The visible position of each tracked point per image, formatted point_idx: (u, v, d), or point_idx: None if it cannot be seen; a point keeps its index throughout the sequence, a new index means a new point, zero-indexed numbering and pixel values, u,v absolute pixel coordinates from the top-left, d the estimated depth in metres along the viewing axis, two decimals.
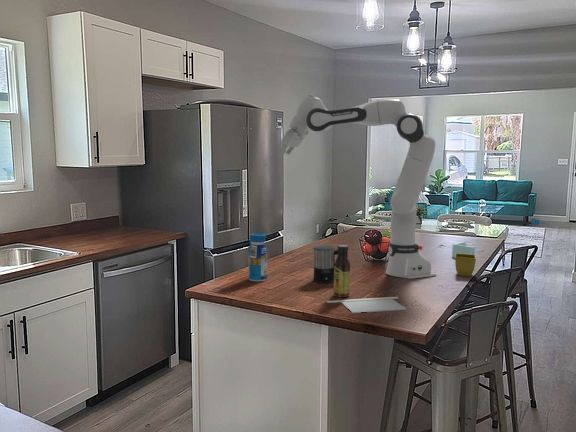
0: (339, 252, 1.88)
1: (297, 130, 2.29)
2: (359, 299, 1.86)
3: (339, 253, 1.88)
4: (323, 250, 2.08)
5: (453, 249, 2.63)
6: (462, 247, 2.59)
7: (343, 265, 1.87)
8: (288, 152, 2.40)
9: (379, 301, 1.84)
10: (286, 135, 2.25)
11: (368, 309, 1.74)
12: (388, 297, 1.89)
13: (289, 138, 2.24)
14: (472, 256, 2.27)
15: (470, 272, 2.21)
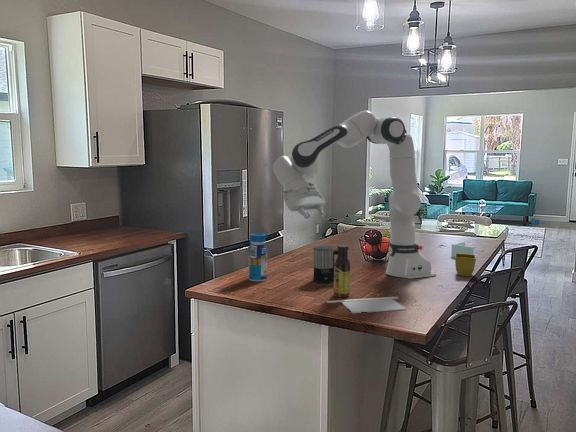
0: (339, 252, 1.88)
1: (293, 190, 1.98)
2: (359, 299, 1.86)
3: (339, 253, 1.88)
4: (323, 250, 2.09)
5: (452, 249, 2.64)
6: (461, 247, 2.60)
7: (343, 265, 1.87)
8: (320, 213, 2.00)
9: (379, 301, 1.84)
10: (286, 201, 1.94)
11: (368, 309, 1.74)
12: (388, 297, 1.89)
13: (289, 199, 1.93)
14: (472, 256, 2.27)
15: (470, 272, 2.21)
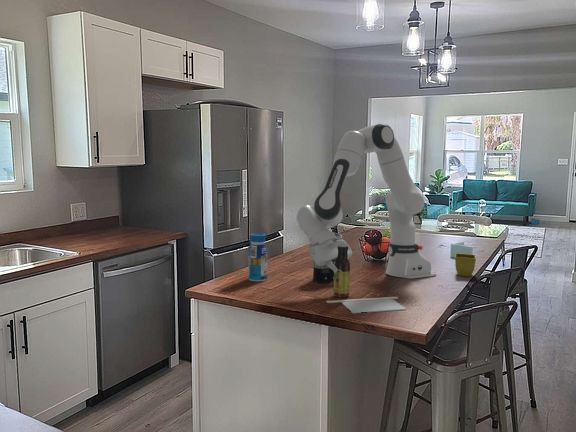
0: (339, 252, 1.88)
1: (320, 242, 1.91)
2: (359, 299, 1.86)
3: (339, 253, 1.88)
4: None
5: (451, 249, 2.64)
6: (460, 247, 2.60)
7: (343, 265, 1.87)
8: None
9: (379, 301, 1.84)
10: (313, 256, 1.87)
11: (368, 309, 1.74)
12: (388, 297, 1.89)
13: (317, 254, 1.86)
14: (472, 256, 2.27)
15: (470, 272, 2.21)
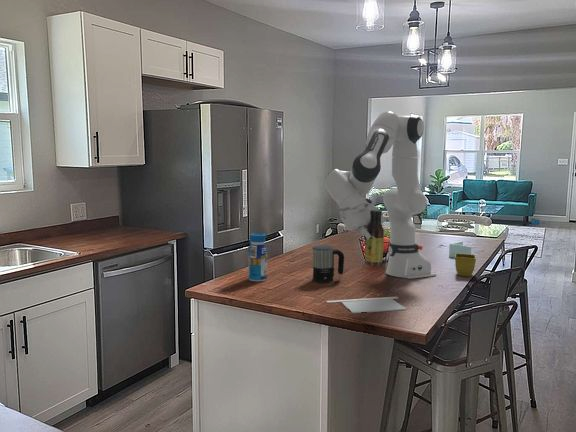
0: (372, 217, 1.75)
1: (350, 207, 1.78)
2: (359, 299, 1.86)
3: (372, 218, 1.75)
4: (322, 250, 2.09)
5: (450, 248, 2.65)
6: (459, 246, 2.61)
7: (376, 231, 1.74)
8: None
9: (379, 301, 1.84)
10: (344, 221, 1.73)
11: (368, 309, 1.74)
12: (388, 297, 1.89)
13: (348, 218, 1.72)
14: (472, 256, 2.27)
15: (470, 272, 2.21)
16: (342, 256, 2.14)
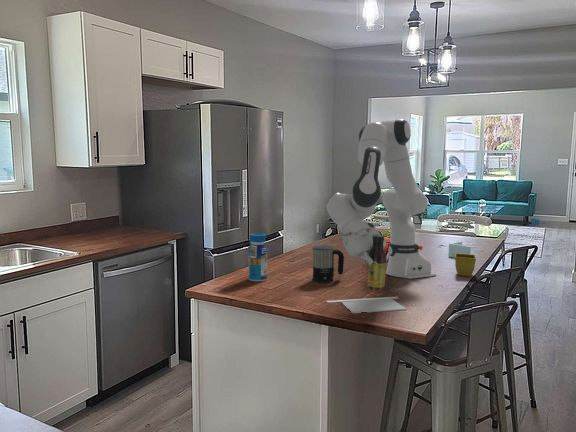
0: (374, 242, 1.75)
1: (353, 232, 1.78)
2: (359, 299, 1.86)
3: (374, 243, 1.75)
4: (322, 250, 2.09)
5: (449, 248, 2.65)
6: (458, 246, 2.61)
7: (379, 256, 1.74)
8: None
9: (379, 301, 1.84)
10: (346, 246, 1.73)
11: (368, 309, 1.74)
12: (388, 297, 1.89)
13: (350, 244, 1.72)
14: (472, 256, 2.27)
15: (470, 272, 2.21)
16: (342, 256, 2.14)
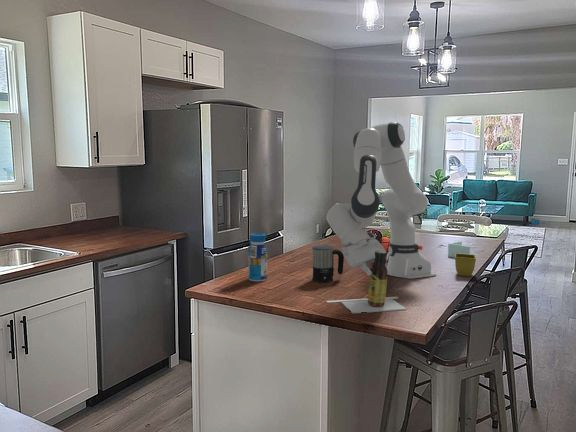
0: (377, 258, 1.75)
1: (353, 243, 1.78)
2: (359, 299, 1.86)
3: (376, 259, 1.75)
4: (322, 250, 2.09)
5: (449, 248, 2.66)
6: (458, 246, 2.62)
7: (380, 272, 1.74)
8: None
9: None
10: (346, 257, 1.74)
11: (368, 309, 1.74)
12: (388, 297, 1.89)
13: (350, 255, 1.73)
14: (472, 256, 2.27)
15: (470, 272, 2.21)
16: (342, 256, 2.14)
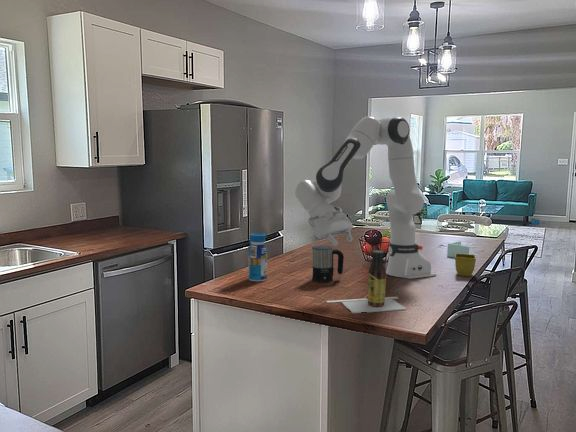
0: (374, 258, 1.75)
1: (319, 216, 1.90)
2: (359, 299, 1.86)
3: (374, 259, 1.76)
4: (322, 249, 2.10)
5: (448, 248, 2.66)
6: (457, 246, 2.62)
7: (379, 272, 1.75)
8: (349, 238, 1.92)
9: None
10: (313, 229, 1.85)
11: (368, 309, 1.74)
12: (388, 297, 1.89)
13: (317, 227, 1.84)
14: (472, 256, 2.27)
15: (470, 272, 2.21)
16: (341, 256, 2.14)
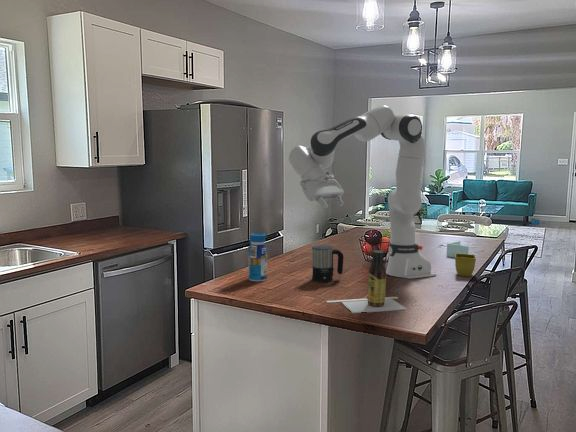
0: (374, 258, 1.76)
1: (311, 179, 1.94)
2: (359, 299, 1.86)
3: (374, 259, 1.76)
4: (321, 249, 2.10)
5: (447, 248, 2.66)
6: (456, 246, 2.62)
7: (379, 272, 1.75)
8: (339, 203, 1.96)
9: None
10: (305, 191, 1.89)
11: (368, 309, 1.74)
12: (388, 297, 1.89)
13: (308, 189, 1.88)
14: (472, 256, 2.27)
15: (470, 272, 2.21)
16: (341, 256, 2.14)
